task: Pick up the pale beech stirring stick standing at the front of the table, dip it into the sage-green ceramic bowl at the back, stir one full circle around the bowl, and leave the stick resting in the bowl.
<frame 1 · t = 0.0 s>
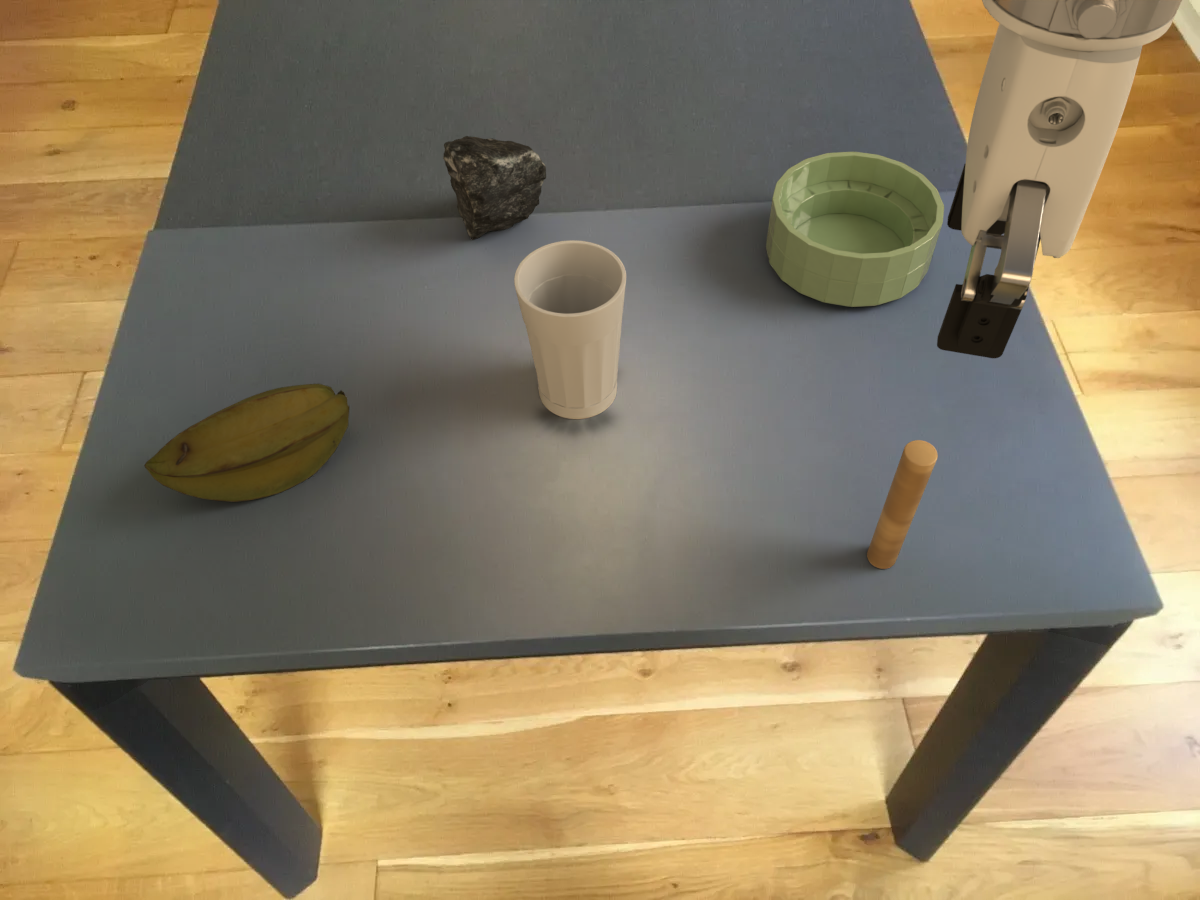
hand: (971, 286, 52), 22 cm above the table, tool pointing down, fingers open, 9 cm apart
stick: (881, 557, 68), on the table
rock: (498, 226, 92), on the table
fruit: (270, 464, 75), on the table
cup: (578, 390, 79), on the table
bowl: (845, 256, 87), on the table
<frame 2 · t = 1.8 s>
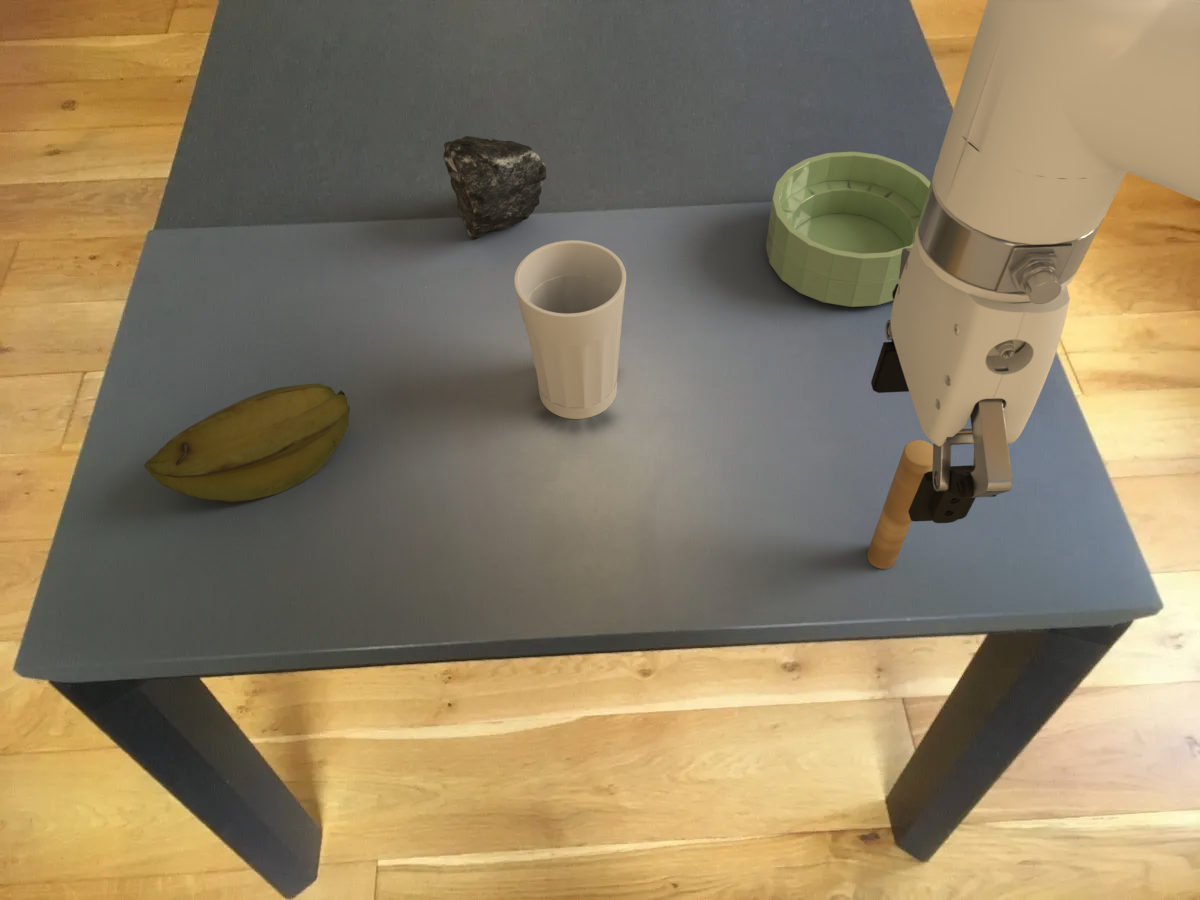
hand: (914, 448, 59), 12 cm above the table, tool pointing down, fingers open, 9 cm apart
nothing on the table moved.
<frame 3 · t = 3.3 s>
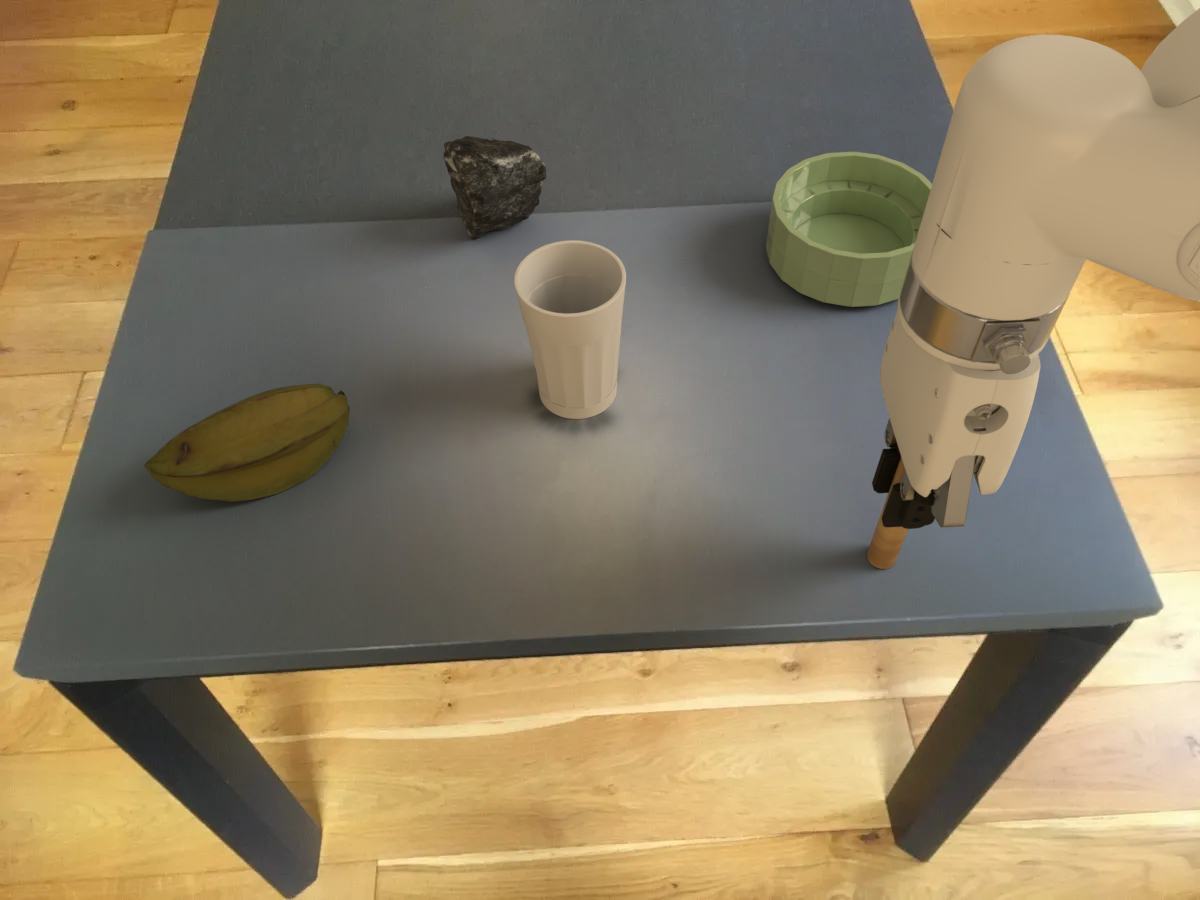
hand: (901, 503, 63), 7 cm above the table, tool pointing down, fingers closed on stick, 2 cm apart
stick: (881, 557, 68), on the table, touching gripper
everything else where it was.
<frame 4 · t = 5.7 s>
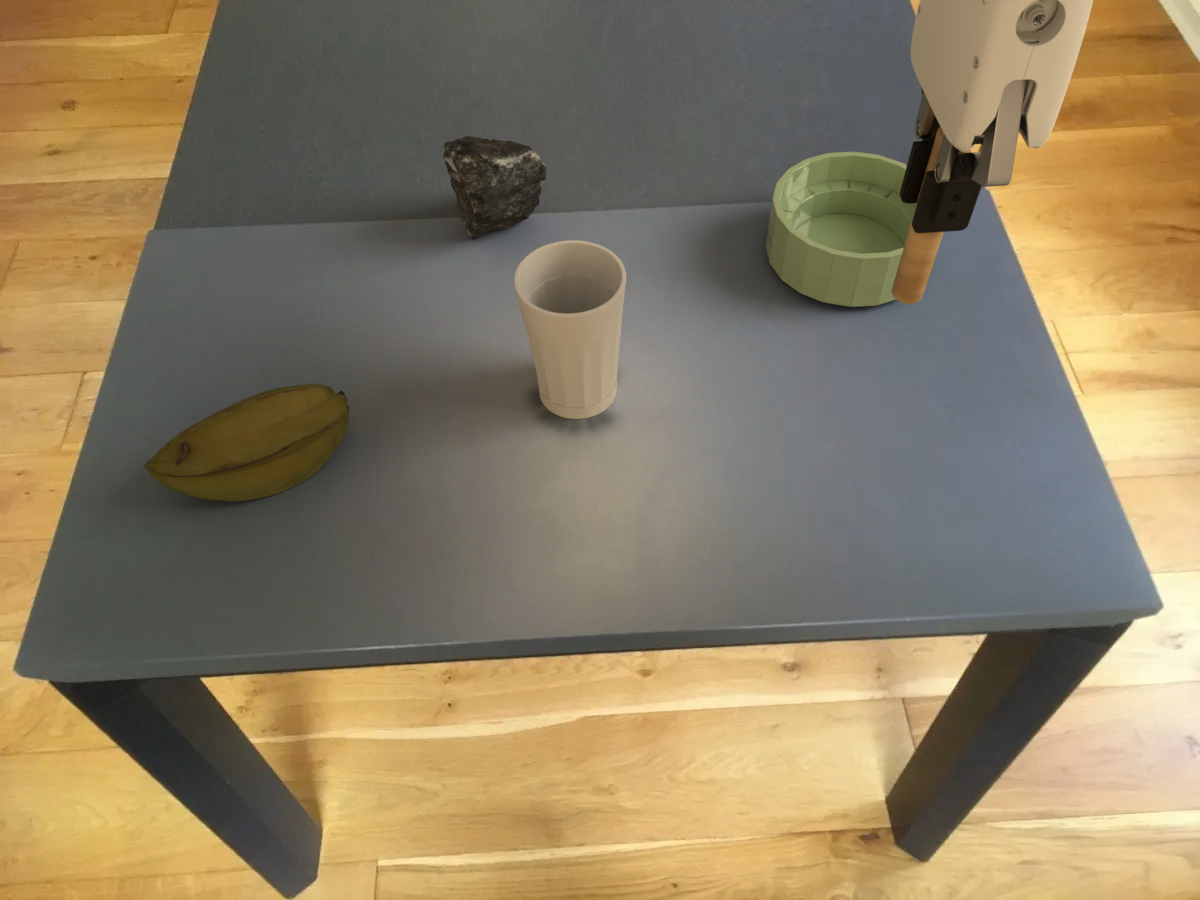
hand: (932, 211, 58), 21 cm above the table, tool pointing down, fingers closed on stick
stick: (907, 293, 63), point 15 cm above the table, touching gripper
everything else where it was.
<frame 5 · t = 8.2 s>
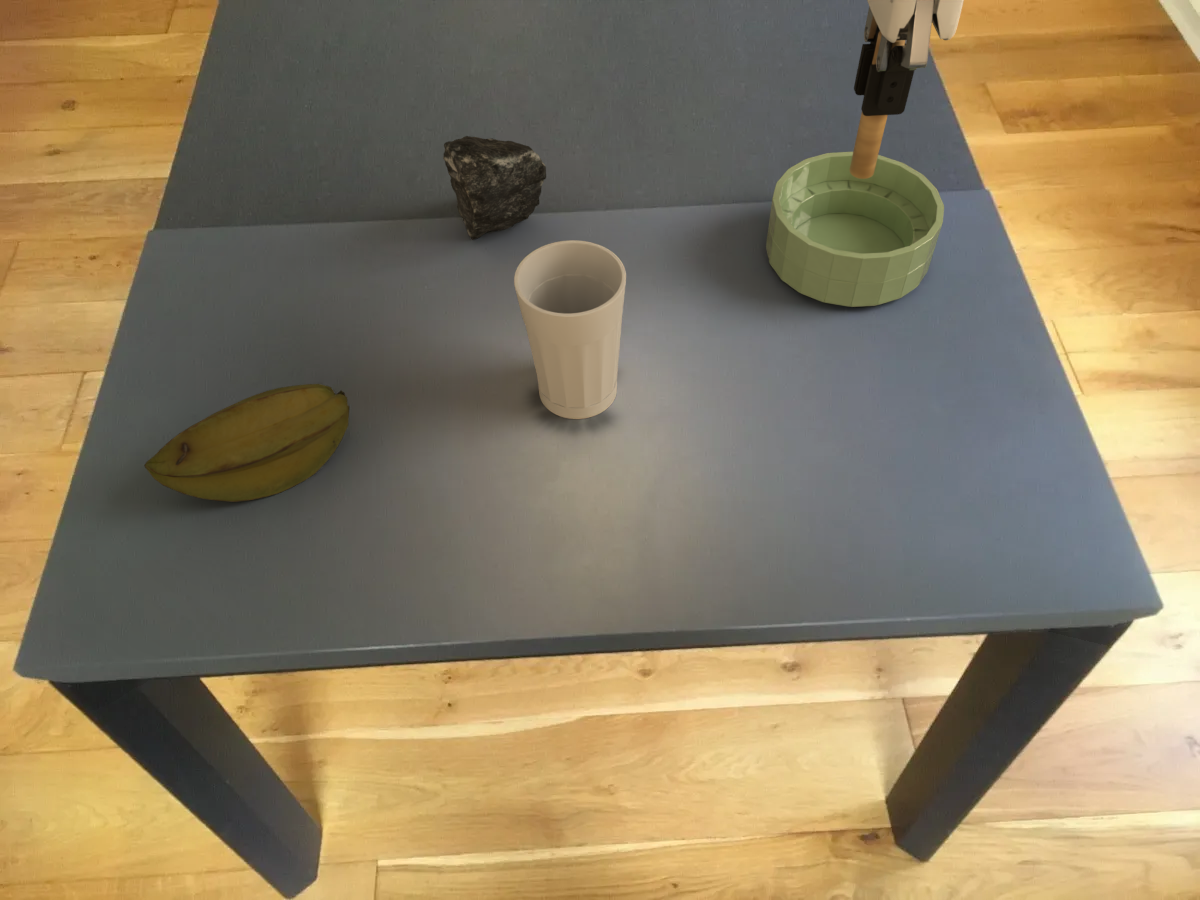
hand: (878, 101, 75), 15 cm above the table, tool pointing down, fingers closed on stick
stick: (861, 171, 80), point 9 cm above the table, touching gripper
everything else where it was.
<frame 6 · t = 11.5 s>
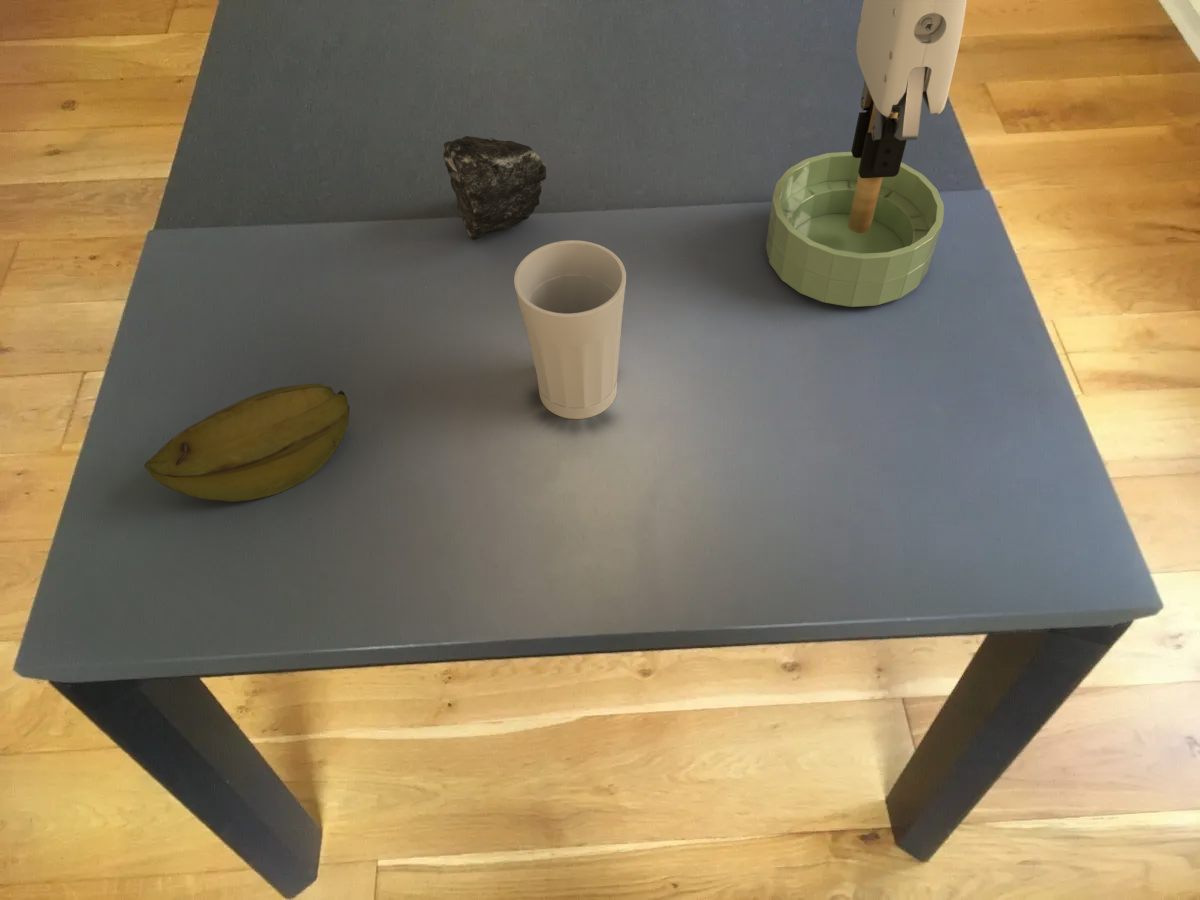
hand: (874, 163, 81), 9 cm above the table, tool pointing down, fingers closed on stick, 2 cm apart
stick: (859, 226, 86), point 3 cm above the table, touching gripper
everything else where it was.
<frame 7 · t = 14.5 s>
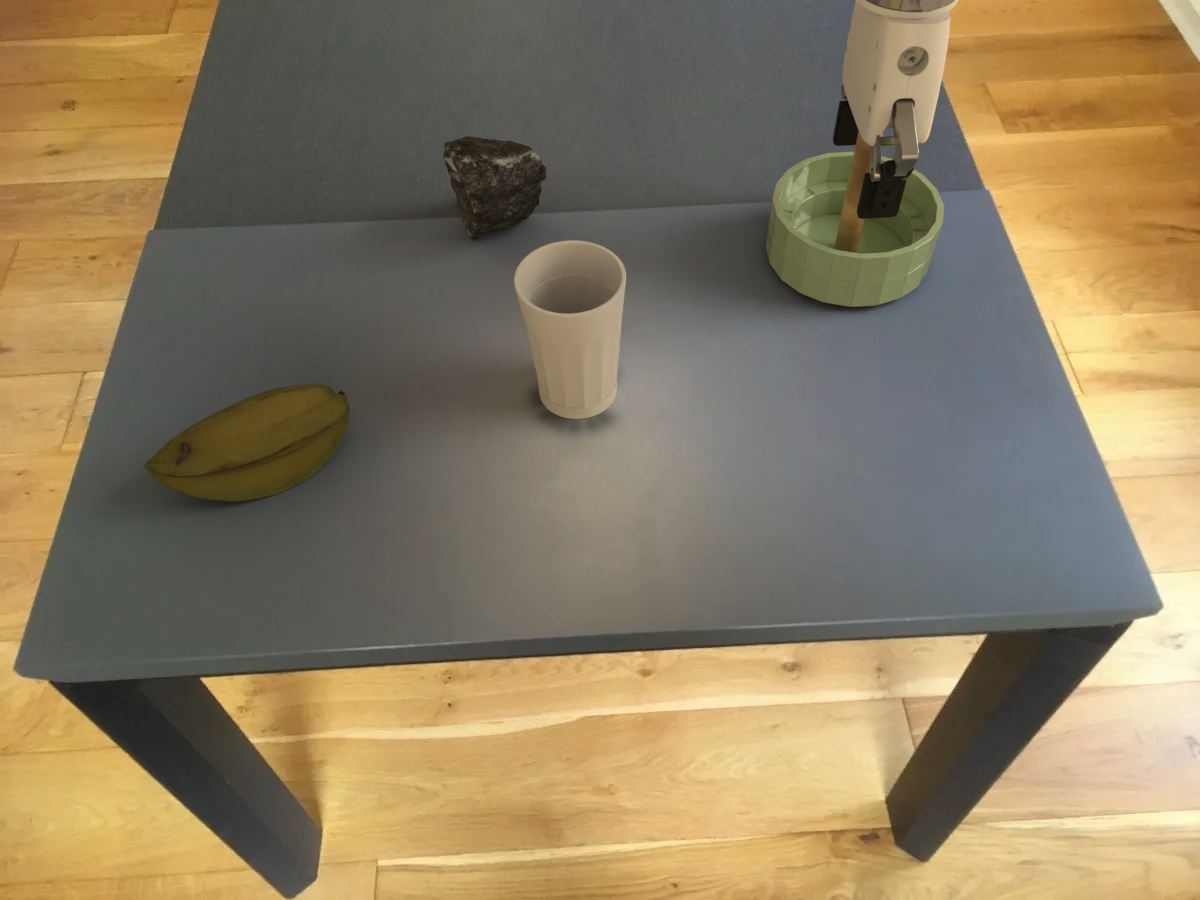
hand: (863, 178, 81), 8 cm above the table, tool pointing down, fingers open, 9 cm apart
stick: (845, 250, 87), point 1 cm above the table, touching bowl
everything else where it was.
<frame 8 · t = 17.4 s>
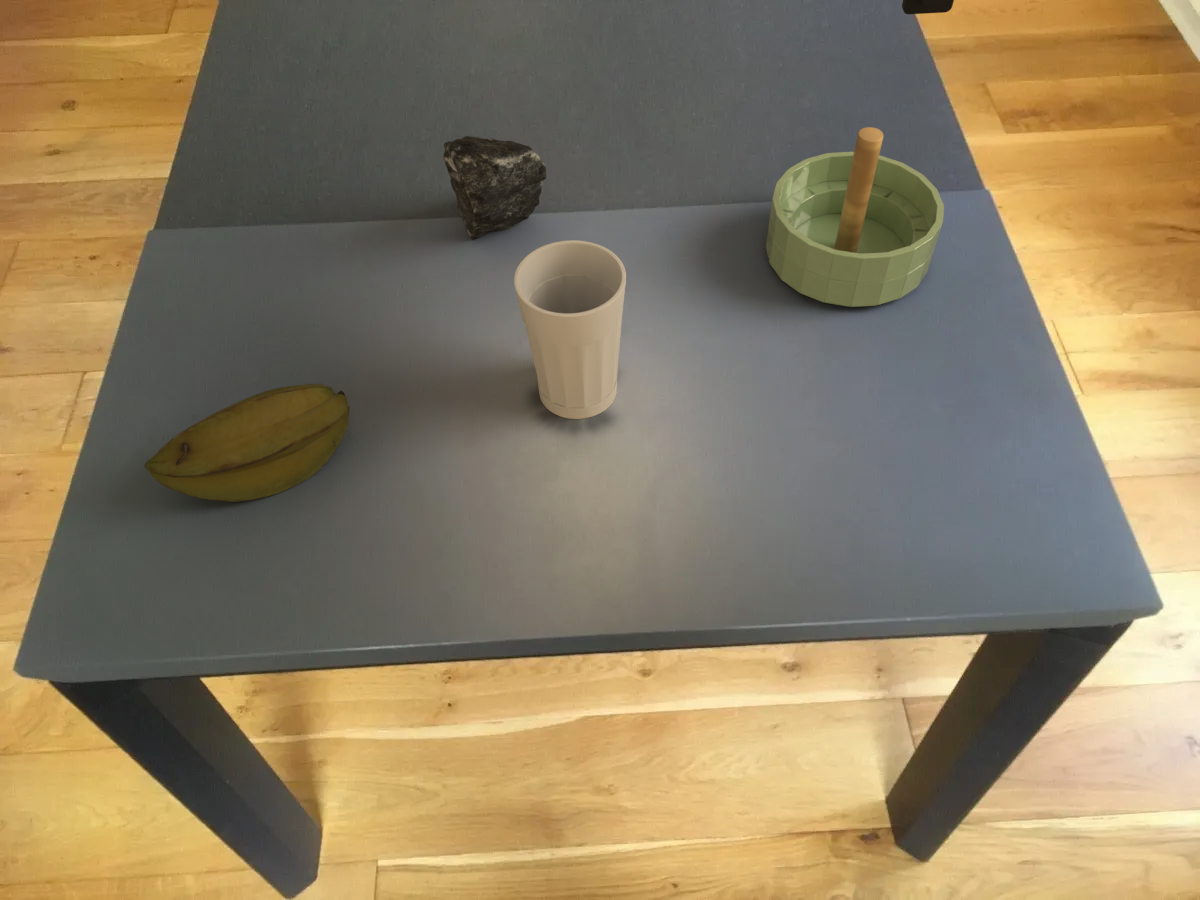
nothing on the table moved.
at the end: stick inside the target area in the bowl (0.1 cm from its centre), point 0.6 cm above the bowl's base; the gripper is holding nothing; stick moved 31.6 cm from its start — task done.
